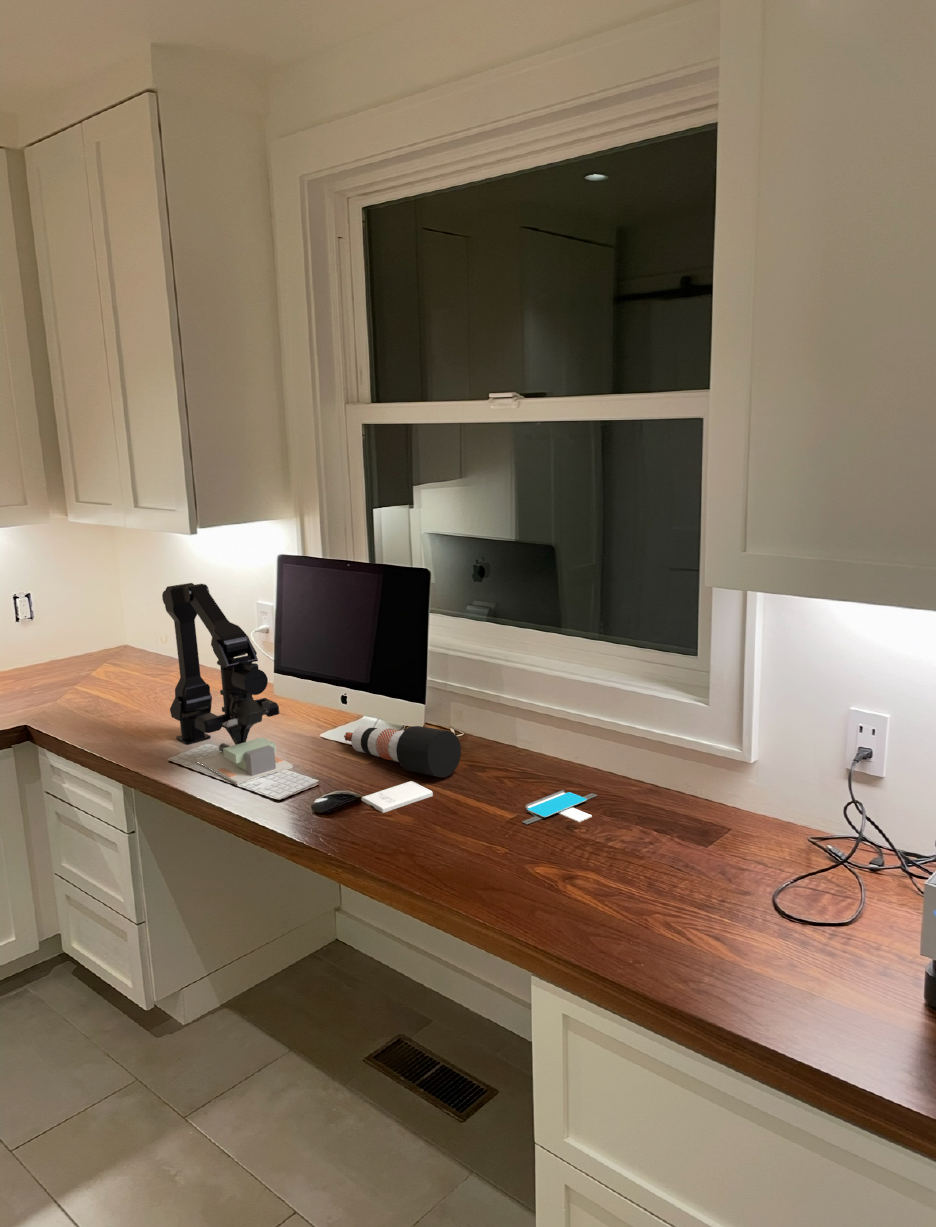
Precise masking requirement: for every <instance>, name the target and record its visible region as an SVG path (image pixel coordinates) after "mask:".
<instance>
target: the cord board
mask: <svg viewBox="0 0 936 1227" xmlns="http://www.w3.org/2000/svg"><path fill="white" fill-rule="evenodd" d="M230 746H231V745H229V744H227V743H225V742H223V743H221V744H219V746H218V750H219V752H216V753H215V752H214V753H213V754H212V753H211V754H208V755H204V756H202V757H198V758H195V762H196V761H197V762H199V763H200V764H203V765H204V766H206V767H208V768H210V769H212V770H213V771H215V772H217V773H218V774H220V775H221V776H220V775H219V776H220V777H222V776H223V777H225V778H226V780H227V779H228V780H227V781H229V780H230V781H232V782H233V783H232V782H231V783H232V784H234V783H235V784H234V785H236V784H240V783H242V782H244V781H247V780H251V779H254V778H257V777H260V776H265V775H268V774H271V773H274V772H278V773H281V772H284V771H287V770H290V769H293V763H289V762H288V761H286V760H284V759H282V758H280V757H277V756H276V755H275V754H276V752H274V748H273V747H271V746H269V745H268V746H264V747H261V748H258V749H254V750H251V751H247V752H245V761H246V770H244V769H242V768H240V767H238V766H236V765H234V762H233V761H231V760H229V759H227V758H225V757H224V754H223V748H226V747H230ZM197 762H196V763H197ZM200 764H199V765H200ZM204 766H203V767H204ZM206 767H205V768H206ZM213 771H212V772H213ZM280 771H281V772H280ZM218 774H217V775H218ZM223 777H222V778H223ZM265 777H266V776H265ZM225 778H224V779H225ZM230 781H229V782H230ZM240 785H241V784H240Z"/></svg>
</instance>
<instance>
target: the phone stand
mask: <svg viewBox="0 0 936 1227" xmlns="http://www.w3.org/2000/svg"><path fill="white" fill-rule="evenodd" d="M595 797H598V794H596V793H593V792H592V793H589V794H587V795H584V796H581V795H579V794H575V793H573V792H570V791H569V792H565V789H563V790H559V791H556V792H554V793H552V794H549V795H547V796H545V797H542V798H539V799H536V800H535V801H532V802H529V803H526V804H525V807H524V808H526V809H525V810H526V812H528V813H530V814H531V815H532V817H530V818H527V819H526V820H523V821H522V823H523V824H525V825H530V824H531V823H534V822H538V821H540V820H542V819H544V818H547V817H550V816H552V815H555V814H559V815H561V816H564V817H566V818H568V819H570V820H573V821H575V822H578V823H581V822H583V821H586V820H588V819H590V818H592V817H593V815H592V814H589V813H587V812H584V811H582V810H579V809H577V808H575V806H577V805H579V804H582V803H584V802H586V801H590V800H591V799H592V798H595Z"/></svg>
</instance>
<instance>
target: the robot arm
mask: <svg viewBox="0 0 936 1227" xmlns="http://www.w3.org/2000/svg"><path fill="white" fill-rule="evenodd" d="M161 596H162V597H161V598H162V601H163V604H164V608H165V611H166V613H167V614H168V616H169V617H171V619H172V620H173V623H174V631H175V632H174V634H175V640H176V641H175V642H176V650H177V651H176V652H177V661H178V666H179V667H178V668H179V677H180V678H179V680H178V682H177V684H176V686H175V688H174V699H173V702H172V704H171V705H170V708H169V711H170V717H171V718H172V719H175V720H176V721H178V722H179V726H180V735H177V736H176V738H175V739H176V740H179V741H180V742H182V743H184V744H186V745H188V744H189V745H190V744H192V743H197V742H201V741H204V740H209V739H211V735H210V733H214V732H217V731H220V730H221V729H222V728H224V729H225V730H226V732H227V733H228V735H229V736H230V738H231V740H232V742H233V743H234V745H237V744H240V743H244V742H247V740H248V737H249V733H250V730H251V728H252V727H253V726H254V725H256V724H259V723H261V722H262V721H263V716H264V715H265V716H266V717H268V718H270V717H273V716H277V715H278V716H279V714H280V706H279V704H278V703H277V702H276V701H273V700H270V699H268V698H267V697H263V698H260V699H254V697H253V696H258V695H260V694H262V693H263V692H264V691H265V690H266V688H267V686H268V681H269V680H268V679H269V678H268V676H267V674H266V673H265V671H263V670H262V669H259V664H258V663H256V662H258V661H259V659H258V657H257V654H258V652H257V650H256V649H255V647H254V645H253V644H252V642H251V639H250V637H249V636H248V634H246V632H245V631H244V629H242V628H241V627H240V626H239V625H238V624H235V623H234V622H230V621H229V619H228V617H226V615H225V614H224V612H223V611H222V609H221V608H220V606H219V605H218V604H217V602H216V600H215V599H214V597H213V596H212V594H211V593H210V590H209V587H208V585H207V584H205V583H198V584H195V583H193V582H189V583H181V584H175V585H168V586H167V587H166V588H165V590H163V591H162V595H161ZM197 616H198V617H199V619H200V620H201V622H202V624H203V625H204V626H205V628H206V629H207V631H208V632H209V634H210V636H211V641H210V646H211V648H212V650H213V653H214V655H215V656H216V658H217V659H218V660H217V662H216V664H217V666H219V667H220V675H221V676H220V677H221V688H222V689H220V692H219V693H220V695H221V696H223V697H222V698H223V706H221V712H223V714H220V715H217V714H215V713H213V712H211V711H212V702H213V701H212V700H213V697H212V693H211V686H210V684H208V683H207V682H206V681H205V680H204V679H203V678H202V675H201V668H200V658H199V649H198V639H197V631H196V630H197V629H196V621H195V620H196V618H197Z"/></svg>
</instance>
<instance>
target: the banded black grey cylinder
mask: <svg viewBox="0 0 936 1227" xmlns="http://www.w3.org/2000/svg"><path fill="white" fill-rule="evenodd" d="M343 738H344V741H348V742H351V745H352V748H353V749H354V750H355V751H356V752H359V753H364V754H366V755H367V754H368V755H372V756H374V757H379V758H381V759H384V760H388V761H393V762H398V763H399V765H400V767H401V768H402V769H404V770H405V771H409V772H413V773H419V774H423V775H427V776H432V777H435V778H436V777H438V778H446V777H448V776H451V775H452V774H453V773H454V772H455V771H456V770H457V768H458V766H459V764H460V761H461V756H462V746H461V743H460V740H459V738H458V736H457V734H455V733H454V732H452V731H449V730H446V729H440V728H435V727H434V728H432V727H426V726H419V725H414V726H409V727H408V728H406V729H404V730H400V729H399V730H398V729H394V728H382V727H371V726H370V727H369V726H364V725H363V726H358V727H357V728H356V729H355V730H354V731H353V732H350V731H349V732H345V734H344V735H343Z"/></svg>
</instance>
